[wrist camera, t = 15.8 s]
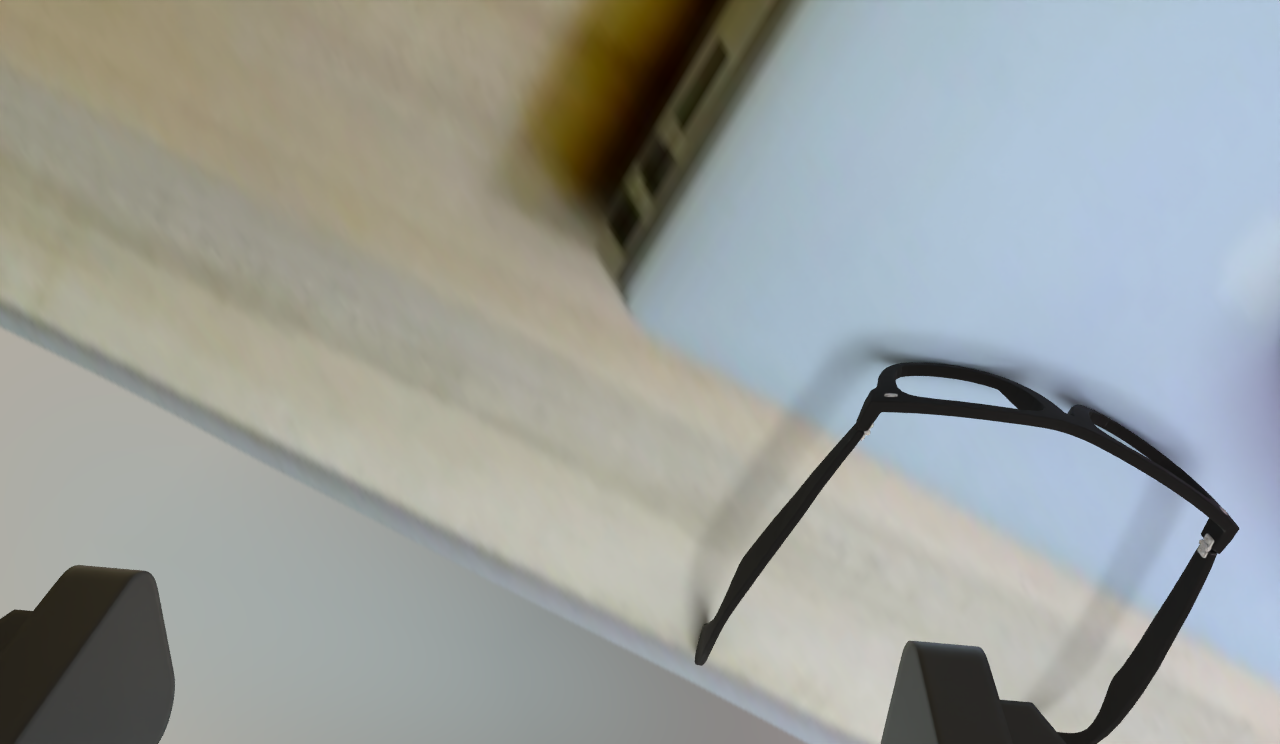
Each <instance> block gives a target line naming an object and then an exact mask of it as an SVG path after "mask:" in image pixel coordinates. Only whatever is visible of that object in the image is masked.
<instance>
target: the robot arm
mask: <svg viewBox="0 0 1280 744" xmlns="http://www.w3.org/2000/svg"><path fill="white" fill-rule="evenodd" d="M174 691H175V679H174V671H173V666H172V661H171V656H170V651H169V645H168V641H167V635H166V629H165V624H164V620H163V614H162V609H161V603H160V598H159V593H158V588H157V585H156V581H155V579H154V577H153V576H152V574H150V573H149V572H147V571H140V570H129V569H117V568H106V567H93V566H83V565H77V566H73V567H71V568H69V569H68V570H67V571H65V573H64V574H63V575H62V576H61V577H60V578H59V579H58V581H57V582H56V583H55V584H54V586H53V587H52V588H51V589H50V591H49V592H48V593H47V594H46V596H45V597H44V598H43V599H42V601H41V602H40V603H39V605H38V606H37V607H36V608H35V609H34V611H25V610H13V611H11V612H10V613H9V614H7V615H6V616H4V617H3V618H1V619H0V744H158V743H159V741H160V740H161V738H162V736H163V734H164V732H165V729H166V727H167V724H168V721H169V718H170V714H171V711H172V705H173V700H174ZM881 744H1066V743H1065V741H1064V740H1063V739H1062V738H1061V737H1060V735H1059V734H1058V733H1057V732H1056V731H1055V730H1054V728H1053V727H1052V726H1051V725H1050V724H1049V722H1048V721H1047V720H1046V719H1045V718H1044V716H1043V715H1042V714H1041V713H1040V712H1039V710H1038V709H1037V708H1036V707H1035V706H1034V704H1033V703H1030V702H1019V701H1008V700H1000V699H999V696H998V693H997V689H996V686H995V683H994V679H993V676H992V673H991V670H990V666H989V663H988V660H987V657H986V655H985V653H984V651H983V650H982V649H981V648H980V647H976V646H964V645H953V644H942V643H930V642H919V641H908V642H907V644H906V645H905V647H904V650H903V653H902V657H901V661H900V665H899V669H898V673H897V677H896V682H895V686H894V690H893V694H892V698H891V703H890V707H889V711H888V715H887V719H886V723H885V728H884V732H883V736H882V740H881Z"/></svg>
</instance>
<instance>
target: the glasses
mask: <svg viewBox="0 0 1280 744" xmlns="http://www.w3.org/2000/svg"><path fill="white" fill-rule="evenodd" d="M905 376H934V377H944V378H952V379H959V380H964V381H969V382H974V383H978V384H982V385H986V386H989V387H992V388H995V389H998V390H999V391H1000V392H1001V393H1002V394H1003V395H1004V396H1005V397H1006V398H1007V399H1008V400H1009V401H1010V402H1011V403H1012V404H1014V405H1015V406H1016V407H1017V408H1018V409H1013V408H1006V407H999V406H992V405H985V404H977V403H968V402H960V401H951V400H941V399H932V398H924V397H917V396H913V395H909V394H907V393H904V392H902V391H901V390H900V389H899V388H898V387H897V385H896V381H895V380H896V379H898V378H900V377H905ZM881 412H899V413H920V414H934V415H945V416H956V417H965V418H974V419H983V420H991V421H998V422H1006V423H1014V424H1022V425H1029V426H1035V427H1042V428H1047V429H1052V430H1057V431H1060V432H1064V433H1067V434H1070V435H1073V436H1075V437H1078V438H1080V439H1083V440H1085V441H1087V442H1089V443H1091V444H1094V445H1096V446H1098V447H1100V448H1101V449H1103V450H1105V451H1107V452H1109V453H1111V454H1113V455H1114V456H1116V457H1118V458H1120V459H1122V460H1123V461H1125V462H1127V463H1129V464H1130V465H1132V466H1134V467H1136V468H1137V469H1139V470H1141V471H1142V472H1144V473H1146V474H1147V475H1149V476H1151V477H1152V478H1154V479H1156V480H1157V481H1159V482H1160V483H1162V484H1163V485H1165V486H1166V487H1168V488H1170V489H1171V490H1173V491H1174V492H1176V493H1177V494H1178V495H1180V496H1181V497H1183V498H1184V499H1186V500H1187V501H1188V502H1190V503H1191V504H1192V505H1194V506H1195V507H1196V508H1198V509H1199V510H1200V511H1202V512H1203V513H1204V514H1205V515H1207V516H1208V517H1209V519H1208V521H1207V523H1206V525H1205V527H1204V529H1203V531H1202V533H1201V535H1202V537H1203V539H1204V540H1203V539H1202V540H1200V541H1199V544H1200V545H1199V547H1198V548H1197V550H1196V551H1195V553H1194V555H1193V556H1192V558H1191V560H1190V562H1189V563H1188V565H1187V567H1186V568H1185V570H1184V572H1183V573H1182V575H1181V577H1180V578H1179V580H1178V581H1177V583H1176V585H1175V586H1174V588H1173V590H1172V591H1171V593H1170V594H1169V596H1168V598H1167V599H1166V601H1165V602H1164V604H1163V605H1162V607H1161V608H1160V610H1159V611H1158V613H1157V615H1156V616H1155V618H1154V619H1153V621H1152V622H1151V624H1150V626H1149V627H1148V629H1147V631H1146V632H1145V634H1144V635H1143V637H1142V639H1141V640H1140V642H1139V643H1138V645H1137V646H1136V648H1135V649H1134V651H1133V652H1132V654H1131V655H1130V657H1129V658H1128V659H1127V661H1126V662H1125V664H1124V665H1123V666H1122V668H1121V669H1120V670H1119V671H1118V672H1117V673H1116V675H1115V676H1114V677H1113V679H1112V681H1111V683H1110V685H1109V688H1108V691H1107V694H1106V697H1105V699H1104V702H1103V704H1102V707H1101V709H1100V712H1099V714H1098V715H1097V717H1096V719H1095V720H1094V722H1093V723H1092V724H1091V725H1090V726H1089V727H1088V728H1087V729H1086V730H1084V731H1082V732H1079V733H1060V732H1057V733H1058V734H1059V735H1060V737H1061V738H1062V739H1063V740H1064V741H1065V743H1066V744H1097V743H1098V742H1100V741H1101V740H1102V739H1104V738H1105V737H1106V736H1108V735H1109V734H1110V733H1111V732H1112V731H1113V730H1114V729H1115V728H1116V727H1117V726H1118V725H1119V724H1120V723H1121V721H1122V720H1123V719H1124V718H1125V716H1126V715H1127V714H1128V713H1129V711H1130V710H1131V709H1132V708H1133V706H1134V705H1135V703H1136V702H1137V701H1138V699H1139V698H1140V696H1141V695H1142V694H1143V692H1144V691H1145V689H1146V688H1147V686H1148V684H1149V683H1150V681H1151V680H1152V678H1153V677H1154V675H1155V673H1156V672H1157V670H1158V669H1159V667H1160V665H1161V663H1162V661H1163V660H1164V658H1165V656H1166V654H1167V652H1168V650H1169V649H1170V647H1171V645H1172V643H1173V641H1174V639H1175V638H1176V636H1177V634H1178V632H1179V630H1180V629H1181V627H1182V625H1183V623H1184V621H1185V620H1186V618H1187V616H1188V614H1189V612H1190V611H1191V609H1192V607H1193V605H1194V603H1195V601H1196V599H1197V597H1198V595H1199V593H1200V591H1201V589H1202V587H1203V585H1204V582H1205V580H1206V578H1207V576H1208V574H1209V572H1210V570H1211V567H1212V565H1213V563H1214V560H1215V558H1216V555H1217V553H1218V554H1220V553H1221V552H1222V551H1223V550H1224V548H1225V547H1226V546H1227V545H1228V544H1229V543H1230V541H1231V540H1232V539H1233V537H1234V536H1235V535H1236V533H1237V532H1238V530H1239V527H1238V526H1237V524H1236V523H1235V522H1234V521H1233V520H1232V518H1231V517H1230V516H1229V515H1228V513H1227V512H1226V511H1225V510H1224V509H1223V508H1222V507H1221V506H1220V505H1219V504H1218V503H1217V502H1216V501H1215V500H1214V499H1213V498H1212V497H1211V496H1210V495H1209V494H1208V493H1207V492H1206V491H1205V490H1204V489H1203V488H1202V487H1201V486H1200V485H1199V484H1198V483H1197V482H1196V481H1194V480H1193V479H1192V478H1191V477H1190V476H1189V475H1188V474H1187V473H1185V472H1184V471H1183V470H1182V469H1181V468H1179V467H1178V466H1177V465H1176V464H1174V463H1173V462H1172V461H1171V460H1169V459H1168V458H1167V457H1166V456H1164V455H1163V454H1162V453H1160V452H1159V451H1158V450H1157V449H1155V448H1154V447H1152V446H1151V445H1150V444H1148V443H1147V442H1145V441H1144V440H1143V439H1141V438H1140V437H1138V436H1137V435H1135V434H1134V433H1132V432H1131V431H1129V430H1128V429H1126V428H1124V427H1123V426H1121V425H1120V424H1118V423H1117V422H1115V421H1113V420H1111V419H1110V418H1108V417H1106V416H1104V415H1102V414H1100V413H1098V412H1097V411H1095V410H1092V409H1090V408H1088V407H1085V406H1081V405H1075V406H1073V407H1071V409H1070V411H1069V412H1068V414H1066V413H1064V412H1063V411H1062V410H1061V409H1060V408H1058V407H1057V406H1056V405H1055V404H1053V403H1052V402H1051V401H1049V400H1048V399H1046V398H1045V397H1043V396H1042V395H1040V394H1038V393H1036V392H1034V391H1033V390H1031V389H1029V388H1027V387H1025V386H1023V385H1020V384H1018V383H1016V382H1014V381H1011V380H1009V379H1006V378H1003V377H1000V376H997V375H994V374H990V373H987V372H983V371H979V370H975V369H970V368H965V367H960V366H954V365H946V364H937V363H913V362H912V363H900V364H895V365H892V366H890V367H887V368H886V369H885V370H883V371H882V373H881V374H880V376H879V378H878V384H877V387H876V388H875V389H873V390H871V391H870V393H869V395H868V397H867V398H866V400H865V402H864V404H863V407H862V409H861V411H860V414H859V416H858V419H857V422H856V424H855V425H854V426H853V427H852V428H851V429H850V430H849V431H848V433H847V434H846V435H845V436H844V437H843V438H842V439H841V440H840V442H839V443H838V444H837V445H836V446H835V447H834V448H833V449H832V451H831V452H830V453H829V454H828V455H827V456H826V458H825V459H824V460H823V461H822V462H821V463H820V464H819V466H818V467H817V468H816V469H815V470H814V471H813V473H812V474H811V475H810V476H809V478H808V479H807V480H806V481H805V482H804V484H803V485H802V486H801V487H800V489H799V490H798V491H797V492H796V494H795V495H794V496H793V497H792V498H791V499H790V501H789V502H788V503H787V504H786V505H785V506H784V508H783V509H782V510H781V511H780V512H779V514H778V515H777V516H776V517H775V518H774V519H773V521H772V522H771V523H770V524H769V526H768V527H767V528H766V529H765V531H764V532H763V533H762V534H761V536H760V537H759V538H758V539H757V541H756V542H755V543H754V544H753V546H752V547H751V548H750V549H749V551H748V552H747V553H746V555H745V556H744V557H743V559H742V561H741V562H740V564H739V566H738V568H737V571H736V573H735V575H734V577H733V580H732V582H731V584H730V587H729V589H728V591H727V593H726V596H725V598H724V600H723V602H722V604H721V606H720V608H719V611H718V613H717V614H716V616H715V618H714V619H713V620H712V621H711V622H710V623H708V624H704V626H703V628H702V631H701V634H700V638H699V642H698V646H697V650H696V655H695V664H696V665H703V664H704V663H705V662H706V660H707V658H708V656H709V654H710V652H711V650H712V648H713V646H714V644H715V642H716V640H717V638H718V636H719V634H720V632H721V630H722V628H723V626H724V625H725V623H726V621H727V620H728V618H729V617H730V615H731V614H732V612H733V611H734V609H735V608H736V606H737V605H738V604H739V602H740V601H741V599H742V598H743V597H744V595H745V594H746V593H747V591H748V590H749V588H750V587H751V586H752V584H753V583H754V581H755V580H756V579H757V577H758V576H759V575H760V573H761V572H762V570H763V569H764V568H765V566H766V565H767V564H768V562H769V561H770V560H771V558H772V557H773V556H774V554H775V553H776V552H777V550H778V549H779V548H780V546H781V545H782V544H783V542H784V541H785V539H786V538H787V537H788V535H789V534H790V533H791V531H792V530H793V529H794V527H795V526H796V525H797V523H798V522H799V521H800V519H801V518H802V517H803V515H804V514H805V512H806V511H807V510H808V508H809V507H810V505H811V504H812V502H813V501H814V500H815V498H816V497H817V495H818V494H819V493H820V491H821V490H822V488H823V487H824V486H825V484H826V483H827V482H828V481H829V479H830V478H831V477H832V475H833V474H834V473H835V471H836V470H837V469H838V468H839V466H840V465H841V464H842V462H843V461H844V460H845V459H846V457H847V456H848V455H849V454H850V452H851V451H852V450H853V449H854V447H855V446H856V445H857V443H858V442H859V441H862V440H863V439H864V438H865V435H869V434H870V429H871V427H873V423H874V421H875V420H876V418H877V417H878V415H879V414H880V413H881ZM1094 424H1095V425H1097V426H1099V427H1101V428H1103V429H1105V430H1107V431H1108V432H1110V433H1112V434H1114V435H1115V436H1117V437H1119V438H1120V439H1122V440H1123V441H1125V442H1126V443H1128V444H1129V445H1131V446H1132V447H1134V448H1135V449H1137V450H1138V451H1139V452H1141V453H1142V454H1144V455H1145V456H1146V457H1145V456H1143V455H1141V454H1140V453H1138V452H1136V451H1134V450H1133V449H1131V448H1129V447H1127V446H1126V445H1124V444H1122V443H1121V442H1119V441H1117V440H1116V439H1114V438H1112V437H1111V436H1109V435H1107V434H1106V433H1104V432H1103V431H1101V430H1100V429H1099V428H1097V427H1096V426H1095V425H1094ZM1147 457H1148V458H1149V459H1148V458H1147Z"/></svg>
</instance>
